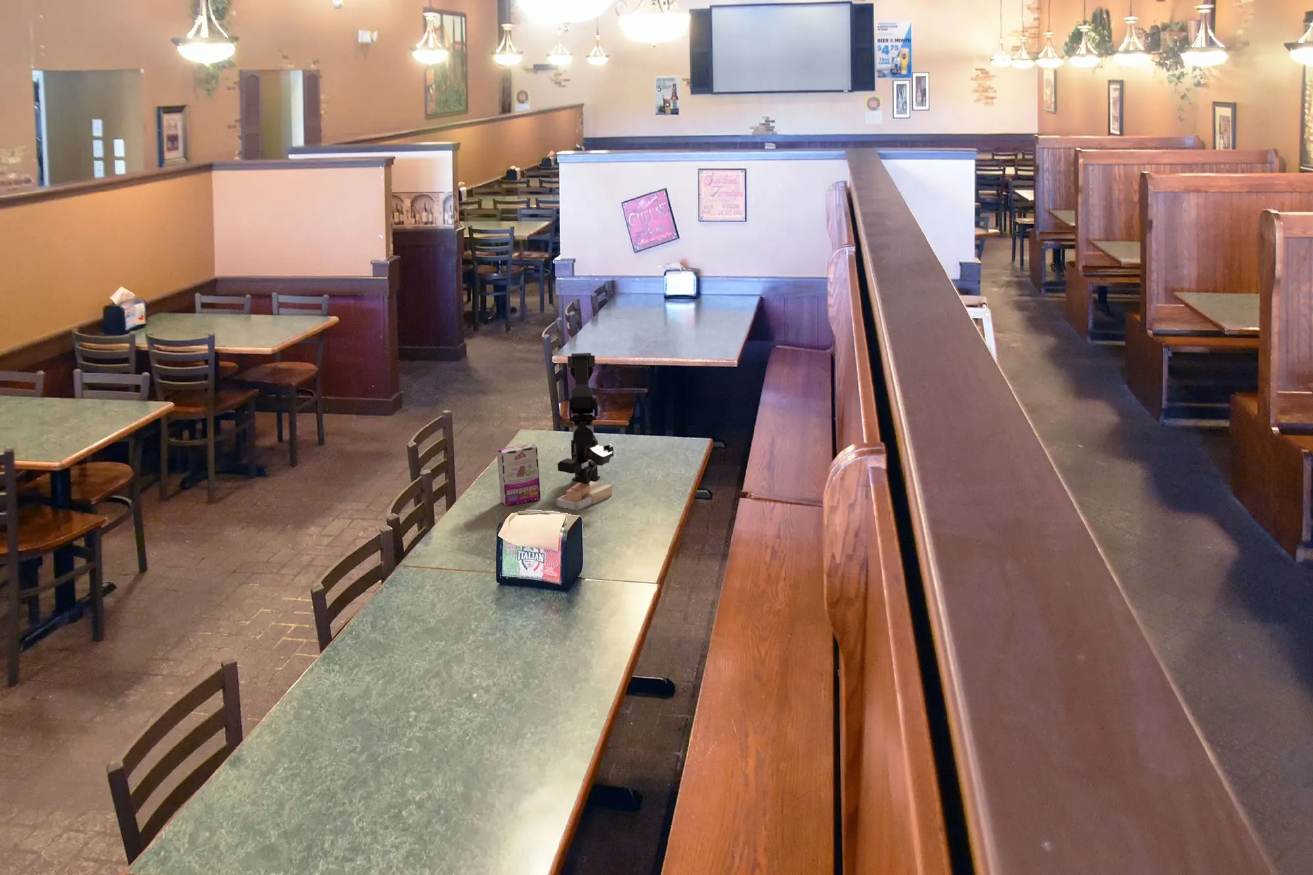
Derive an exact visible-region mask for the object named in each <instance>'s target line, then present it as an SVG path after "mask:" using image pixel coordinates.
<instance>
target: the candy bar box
mask: <svg viewBox="0 0 1313 875" xmlns="http://www.w3.org/2000/svg"><path fill="white" fill-rule="evenodd" d="M538 454H539V453H538V446H536V445H535V444H533V443H527V444H520V445H515V446H508V447H503V448H498V449H496V458H497V459H496V460H497V468H498V469H497V472H498V483H499V496H500V502H501V504H503V505H504V506H506V507H509V506H514V505H518V504H517V503H520V504H523V503H522V502H525V501H530V502H533V501H532V500H535V499H536V500H535V501H538V500H537V499H540V500H541V498H542V497H541V484H540V472H539V471H540V469H539V456H538ZM525 503H526V502H525Z"/></svg>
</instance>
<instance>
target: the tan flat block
mask: <svg viewBox="0 0 1313 875" xmlns="http://www.w3.org/2000/svg"><path fill="white" fill-rule="evenodd" d="M589 485H590V490H591V491H590V492H588V493H587V494H585V495H584V496H582V500H583V499H585V498H587V497H589V496H590V497H592V504H591V505H594V504H596V503H598V502H601V501H602V500H605V499H607V498H609V497H611V496H613V485H611V484H607V483H606V484H605V483H601V482H597V481H590V483H589Z"/></svg>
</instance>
